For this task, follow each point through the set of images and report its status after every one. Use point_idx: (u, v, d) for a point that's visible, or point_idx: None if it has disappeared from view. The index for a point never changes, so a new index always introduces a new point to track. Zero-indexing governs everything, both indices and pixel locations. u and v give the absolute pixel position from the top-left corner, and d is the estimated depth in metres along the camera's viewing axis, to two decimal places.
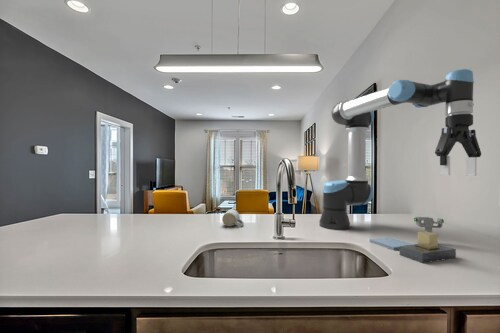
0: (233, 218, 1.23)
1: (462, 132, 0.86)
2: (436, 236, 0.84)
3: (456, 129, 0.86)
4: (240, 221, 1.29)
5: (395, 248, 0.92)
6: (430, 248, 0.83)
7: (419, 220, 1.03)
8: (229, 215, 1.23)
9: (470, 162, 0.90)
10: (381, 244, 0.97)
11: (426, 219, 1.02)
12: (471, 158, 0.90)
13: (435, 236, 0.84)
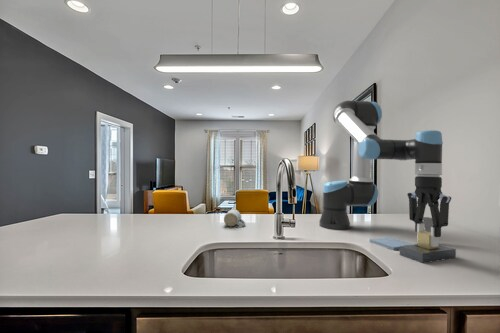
0: (235, 218, 1.23)
1: (420, 194, 0.86)
2: None
3: (416, 190, 0.88)
4: (242, 221, 1.29)
5: (395, 248, 0.92)
6: (430, 248, 0.83)
7: None
8: (231, 215, 1.23)
9: None
10: (381, 244, 0.97)
11: (426, 219, 1.02)
12: None
13: None
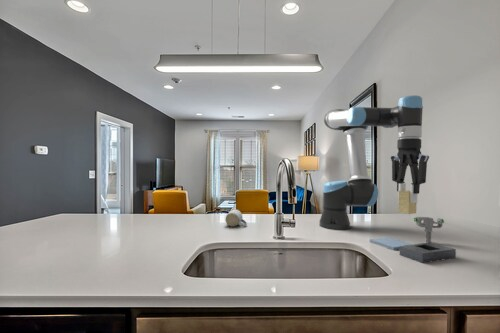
0: (236, 218, 1.23)
1: (401, 156, 0.93)
2: None
3: (398, 153, 0.95)
4: (243, 221, 1.29)
5: (395, 248, 0.92)
6: (409, 204, 0.91)
7: (419, 220, 1.03)
8: (232, 215, 1.23)
9: None
10: (381, 244, 0.97)
11: (426, 219, 1.02)
12: None
13: None
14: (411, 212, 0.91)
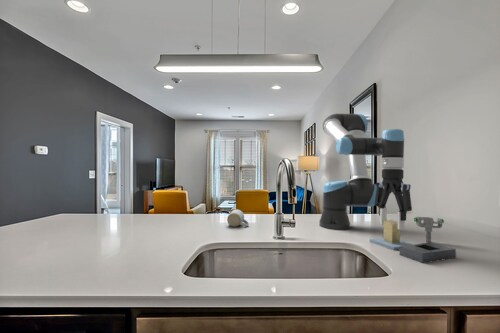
0: (238, 218, 1.23)
1: (385, 184, 1.00)
2: None
3: (383, 181, 1.02)
4: (245, 221, 1.29)
5: (395, 248, 0.92)
6: (393, 234, 0.96)
7: (419, 220, 1.03)
8: (234, 215, 1.23)
9: None
10: (381, 244, 0.97)
11: (426, 219, 1.02)
12: None
13: None
14: (395, 242, 0.97)
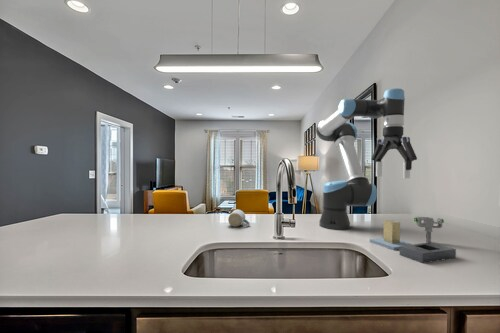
0: (239, 218, 1.23)
1: (386, 142, 1.06)
2: (399, 224, 0.97)
3: (384, 140, 1.08)
4: (246, 221, 1.29)
5: (395, 248, 0.92)
6: (393, 234, 0.96)
7: (419, 220, 1.03)
8: (235, 215, 1.23)
9: None
10: (381, 244, 0.97)
11: (426, 219, 1.02)
12: None
13: (398, 224, 0.97)
14: (395, 242, 0.97)
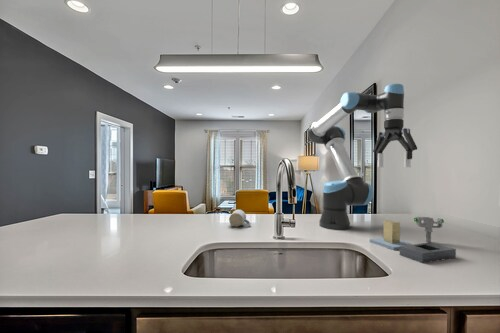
0: (240, 218, 1.23)
1: (387, 134, 1.12)
2: (399, 224, 0.97)
3: (386, 132, 1.14)
4: (247, 221, 1.28)
5: (395, 248, 0.92)
6: (393, 234, 0.96)
7: (419, 220, 1.03)
8: (236, 215, 1.23)
9: None
10: (381, 244, 0.97)
11: (426, 219, 1.02)
12: None
13: (398, 224, 0.97)
14: (395, 242, 0.97)
